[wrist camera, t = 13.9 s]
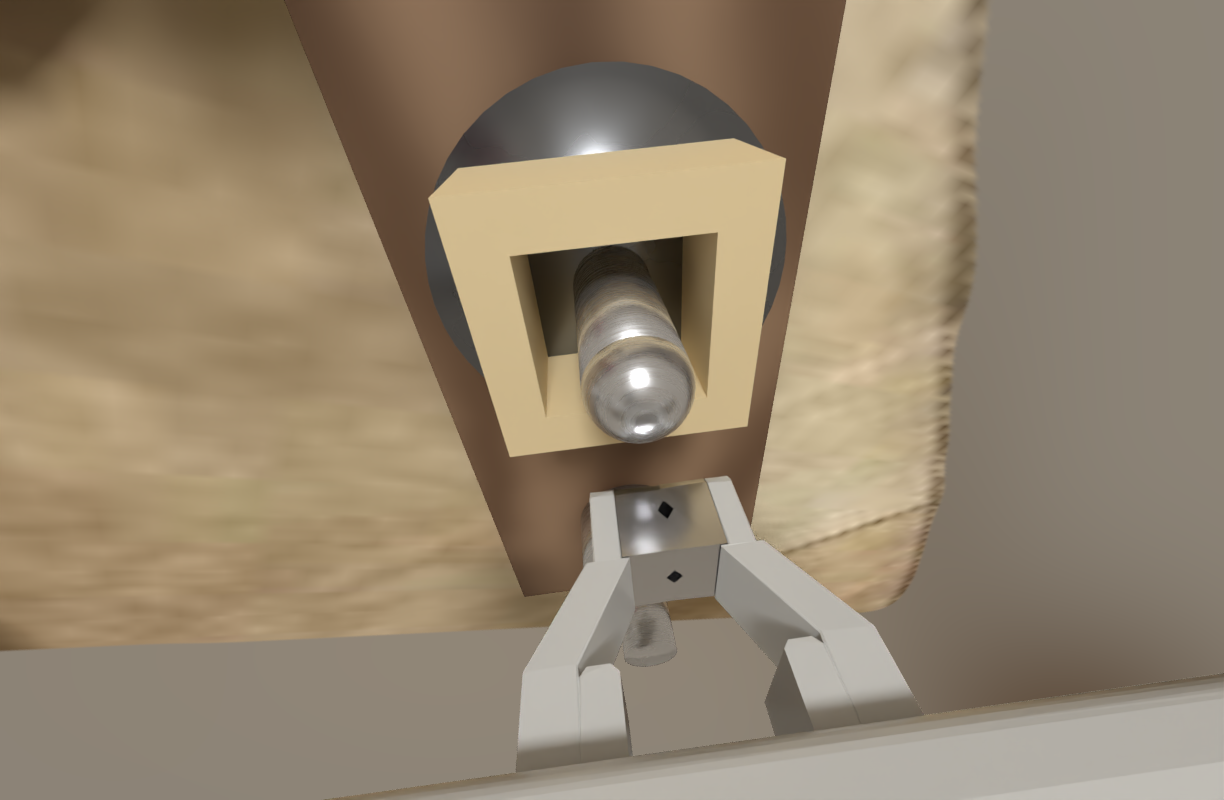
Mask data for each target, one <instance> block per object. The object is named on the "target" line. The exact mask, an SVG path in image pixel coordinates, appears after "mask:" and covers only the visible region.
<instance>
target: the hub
mask: <svg viewBox="0 0 1224 800" xmlns="http://www.w3.org/2000/svg"><path fill="white" fill-rule="evenodd" d="M732 138H734V139H737V140H740V141H742V142H745V143H747V144H750V145H752V146H755V147H758V148H760V149H763V150H764V148H763V146H762V145H761V143H760V142H759V141H758V139H757V138H756V136H755V135H754V133H753V132H752V131H751V129H750V128H749V126H748V125H747V124H746V123H745V122H744V121H743V120H742V119H741V118H740V116H739V115H738V114H737V113H736V112H735V111H734V110H733V109H732V108H731V107H730V106H729V105H728V104H726V103H725V102H724V101H722V100H721V99H720V98H718V97H717V96H716V95H714V94H713V93H712V92H710V91H709V90H708V89H706V88H705V87H703V86H701V85H699V84H697V83H695V82H693V81H691V80H689V79H687V78H685V77H683V76H681V75H679V74H676V73H673V72H670V71H667V70H664V69H660V68H657V67H654V66H650V65H643V64H636V63H629V62H590V63H585V64H580V65H575V66H569V67H564V68H560V69H557V70H555V71H552V72H549V73H546V74H544V75H541V76H538V77H536V78H533V79H531V80H530V81H528V82H526V83H524V84H523V85H521V86H519V87H517V88H516V89H514V90H512V91H510V92H508V93H507V94H505V95H504V96H503V97H502V98H500V99H499V100H498V101H497V102H495V103H494V104H493V105H492V106H490V107H489V108H488V109H487V110H485V111H484V112H483V113H482V114H481V115H480V116H479V117H478V119H477V120H476V121H475V122H474V123H473V124H472V125H471V126H470V127H469V128H468V130H467V131H466V132H465V133H464V134H463V135H462V137H461V138H460V140H459V141H458V143H457V145H456V146H455V148H454V149H453V151H452V152H451V154H450V155H449V157H448V158H447V160H446V163H445V165H444V167H443V169H442V171H441V173H440V176H439V178H438V180H437V182H436V185H435V188H434V192H435V191H436V190H437V189H438V188H439V187H440V186H441V185H442V184H443V183H444V182H445V181H446V180H447V179H448V178H449V177H450V176H451V175H452V174H453V173H454V172H455V171H456V170H457V169H458V168H465V167H474V166H483V165H492V164H502V163H511V162H520V161H529V160H539V159H548V158H557V157H566V156H575V155H585V154H594V153H603V152H612V151H621V150H631V149H640V148H649V147H658V146H667V145H677V144H686V143H695V142H704V141H713V140H723V139H732ZM434 192H433V193H434ZM786 242H787V238H786V216H785V210H784V204H783V198H782V193H781V197H780V204H779V211H778V218H777V225H776V232H775V239H774V246H773V253H772V260H771V266H770V273H769V280H768V287H767V294H766V301H765V308H764V315H763V322H762V325H763V323H764V321H765V319H766V317H767V315H768V313H769V311H770V309H771V307H772V305H773V302H774V299H775V297H776V294H777V291H778V288H779V285H780V281H781V276H782V272H783V268H784V262H785V252H786ZM527 255H528V260H529V265H530V270H531V275H532V280H533V285H534V290H535V295H536V300H537V305H538V310H539V315H540V320H541V325H542V330H543V335H544V340H545V345H546V350H547V355H548V357H551V356H560V355H568V354H576V353H578V361H579V374H580V388H581V396H582V401H583V404H584V407H585V409H586V411H587V414H588V415H589V417H590V418H591V420H592V421H593V422H594V424H595V425H596V426H597V427H598V428H599V429H601V430H602V431H603V432H604V433H606V434H607V435H609V436H611V437H613V438H615V439H617V440H620V441H623V442H627V443H637V444H641V443H649V442H653V441H657V440H659V439H662V438H664V437H666V436H667V435H669V434H670V433H672V432H673V431H674V430H676V429H677V428H678V427H679V426H680V425H681V424H682V423H683V421H684V420H685V419H686V417H687V415H688V414H689V412H690V410H691V407H692V405H693V402H694V398H695V390H696V381H695V374H694V370H693V367H692V364H691V362H690V360H689V357H688V355H687V353H686V351H685V349H684V346H683V344H682V342H681V309H682V255H683V236H682V237H673V238H664V239H656V240H647V241H638V242H630V243H621V244H612V245H604V246H595V247H586V248H577V249H569V250H560V251H551V252H543V253H534V254H527ZM425 263H426V270H427V277H428V284H429V287H430V291H431V294H432V298H433V301H434V305H435V307H436V310H437V312H438V314H439V316H440V319H441V321H442V323H443V326H444V328H445V329H446V331H447V333H448V334H449V336H450V338H451V339H452V341H453V343H454V344H455V346H456V347H457V348H458V350H459V351H460V352H461V353H462V355H463V356H464V357H465V359H466V360H467V361H468V362H469V363H470V364H471V365H472V366H473V367H474V368H475V369H476V370H477V371H478V372H479V373H480V374H481V375H482V376H483V377H484V373H483V370H482V367H481V364H480V361H479V358H478V354H477V351H476V348H475V345H474V342H473V339H472V335H471V332H470V329H469V326H468V323H467V320H466V316H465V313H464V310H463V307H462V304H461V301H460V297H459V294H458V291H457V288H456V285H455V282H454V278H453V275H452V272H451V269H450V266H449V263H448V259H447V256H446V253H445V250H444V247H443V244H442V241H441V237H440V234H439V231H438V228H437V225H436V222H435V218H434V215H433V212H432V209H431V206H429V209H428V216H427V223H426V231H425ZM484 378H485V377H484Z"/></svg>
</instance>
